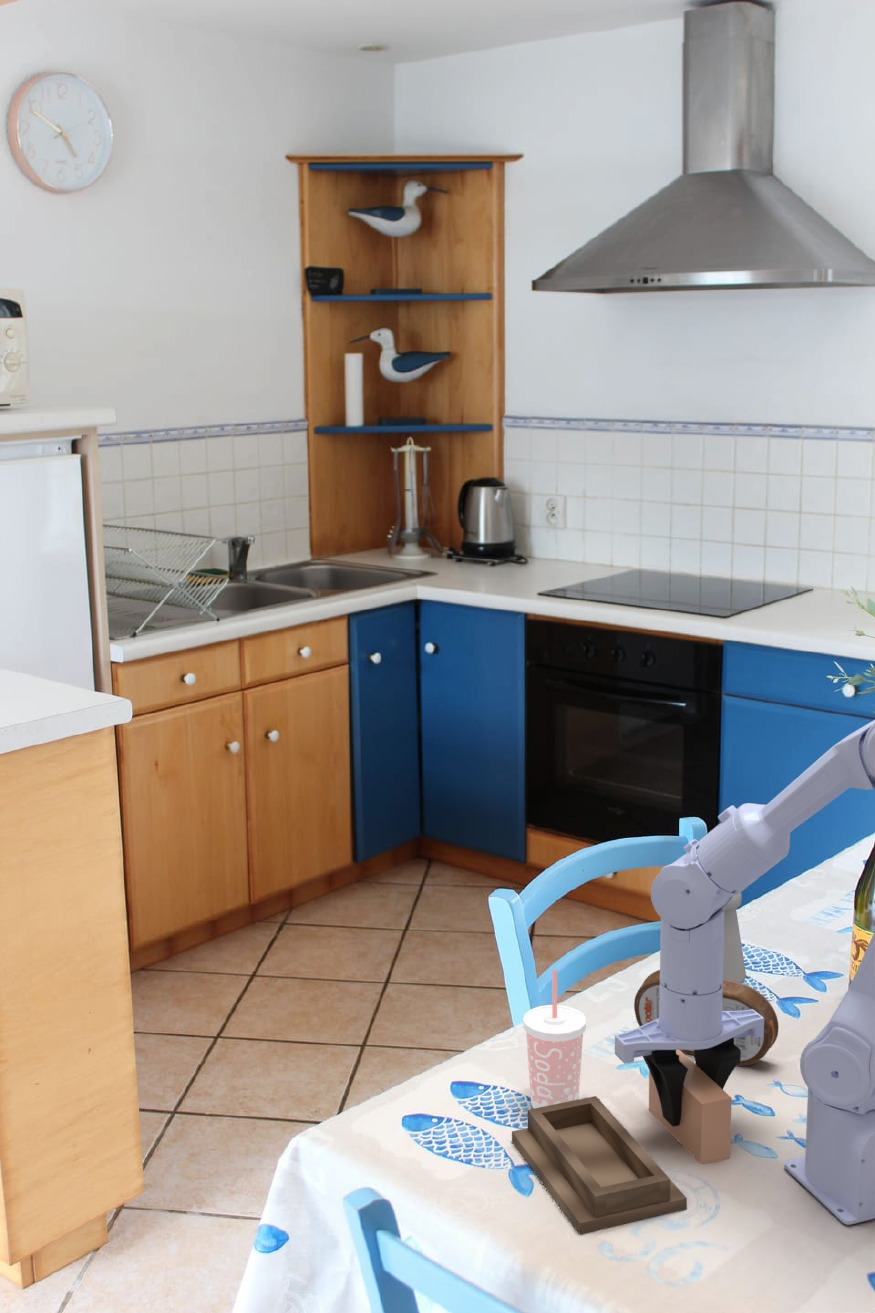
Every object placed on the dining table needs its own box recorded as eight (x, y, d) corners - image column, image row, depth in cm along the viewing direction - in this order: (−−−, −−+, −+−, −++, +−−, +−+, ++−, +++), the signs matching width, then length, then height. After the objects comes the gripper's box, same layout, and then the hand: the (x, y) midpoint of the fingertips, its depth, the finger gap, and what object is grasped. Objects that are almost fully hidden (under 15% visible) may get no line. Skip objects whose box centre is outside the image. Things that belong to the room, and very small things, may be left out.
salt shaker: (683, 987, 158) (685, 881, 156) (724, 977, 161) (727, 873, 158) (714, 1007, 153) (716, 898, 150) (755, 997, 155) (758, 889, 153)
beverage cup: (510, 1104, 134) (509, 971, 131) (550, 1081, 138) (550, 951, 135) (558, 1127, 129) (558, 990, 126) (598, 1103, 134) (599, 969, 131)
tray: (686, 1209, 116) (687, 1177, 116) (579, 1234, 113) (579, 1201, 113) (609, 1120, 130) (609, 1092, 130) (512, 1141, 127) (511, 1111, 127)
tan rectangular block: (729, 1158, 124) (731, 1098, 123) (700, 1164, 123) (702, 1104, 122) (676, 1104, 133) (677, 1047, 132) (648, 1110, 132) (649, 1053, 131)
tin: (778, 1064, 141) (780, 988, 139) (769, 1077, 138) (772, 1000, 136) (640, 1032, 148) (641, 959, 146) (629, 1044, 145) (630, 970, 144)
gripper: (737, 953, 131) (733, 1082, 134) (600, 976, 126) (599, 1110, 129) (778, 983, 124) (773, 1118, 127) (635, 1009, 120) (633, 1149, 123)
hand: (688, 1117), depth 128 cm, fingers closed on tan rectangular block, 3 cm apart
